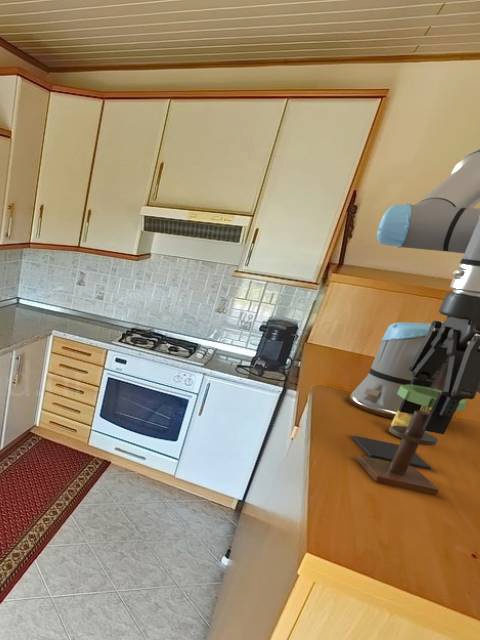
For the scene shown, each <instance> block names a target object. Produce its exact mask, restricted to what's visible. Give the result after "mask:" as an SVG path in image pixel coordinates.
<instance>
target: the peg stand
mask: <svg viewBox="0 0 480 640" xmlns="http://www.w3.org/2000/svg"><path fill="white" fill-rule="evenodd" d="M429 414H430V413H428V412H425V411H420V410H415V412H414V414H413V416H412V418H411V420H410V423H409V425H408V427H405V426H392V427H391V426H390V427H391V430H390V432H391V433H390V432H389V433H390V434H392V435H393V434H394V435H393V436H395V437H397V438H399V437H400V439H401V440H400V441H399V444H398V445H399V447H398V449H397V451H396V453H395V455H394V458H393V460H392V461H387V460H383V459H378V458H373V457H370V456H366V455H361V454H358V456H357V459H356V461H357V462H358V463H359V465H360V466H361V467H362V468H363V469H364V470H365V472H367V474H368V475H369V476H370V477H371V478H372V480H373V481H374V482H375V483H379V484H383V485H388V486H393V487H398V488H401V489H406V490H410V491H415V492H418V493H423V494H428V495H434V496H437V494H438V492H439V491H440V489H439V488H437V486H436V485H434V483H432V481H430V480H429V479H428V478H427V477H426V476H425V475H424V474H423V473H421V472H420V470H418V469H417V467H415V466H411V465H409V464H410V462H411V460H412V458H413V456H414V454H416V452H417V450H418V448H419V445H423V446H436V445H437V443H438V440H439V439H438V438H437V437H436V436H434V435H433V434H431V433H429V432H427V433H426V432H425V431H424V430H423V426H424V424H425V422H426V420H427V418H428V416H429Z"/></svg>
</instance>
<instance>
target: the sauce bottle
mask: <svg viewBox="0 0 480 640" xmlns="http://www.w3.org/2000/svg"><path fill="white" fill-rule="evenodd" d="M449 359H450V357H448V358H447V359H446V360H445V362H444V363H443V364H442V365H441V366H440V368H439V369H438V370H437V371H436V372H435V374H434V377H435V380H428V379H427V381H431V382H433V383H432V385H431V387H430V388H432V389H438V390H441V391H444V387H445V381H446V376H447V370H448V364H449ZM431 409H432V408H431V407H425V406H421V409H420V411H425V412H428V413H430V411H431ZM398 410H399V409H398ZM412 416H413V414H409V413H403V412H400V411H397V413H396V415H395V417H394V419H392V420H391V421H392V422H391V423H390V427H389V428H388V432H389V433H390V434H392V433H391V432H390V430H391V427H392V426H405V427H408V425H409V423H410V420H411V418H412ZM425 432H426V433H429V432H428V431H425ZM392 435H393V436H395V435H394V434H392ZM398 438H400V437H398ZM400 439H401V438H400Z"/></svg>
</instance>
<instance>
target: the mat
mask: <svg viewBox="0 0 480 640" xmlns="http://www.w3.org/2000/svg"><path fill="white" fill-rule="evenodd" d="M352 439H353V440H354V441H355V442H356V443H357V444H358V445H359V447H360V448H362V450H364V452H366V454H367V455H368V457H371V458H376V459H380V460H385V461H390V462H392V460H393V458H394V455H395V453H396V451H397V449H398V447H399V444H397V443H392V442H387V441H383V440H382V441H381V440H376V439H372V438H368V437H364V436H363V437H362V436H357V435H352ZM409 466H413V467H415V468H421V469H425V470H430V471H431V470H432V466H430V465H429V464H428V463H427V462H426V461H425V460H423V458H422V457H420V456H419V455H418V454H417V453H415V454H414V456H413V458H412V460H411V462H410V464H409Z"/></svg>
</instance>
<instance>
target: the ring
mask: <svg viewBox="0 0 480 640" xmlns="http://www.w3.org/2000/svg"><path fill="white" fill-rule="evenodd" d="M438 392H442V391H441V390H438V389H432V388H429V387H423V386H418V385H410V384H408V385H401V386H400V388H399V390H398V393H397V394H398V395H399V396H400V397H402V398H403V399H405V400H407V401H410V402H413V403H416V404H419V405H422V406H425V407H431V408H432V407H433V405H434V403H435V401H436V399H437V397H438ZM443 392H444V391H443ZM467 404H468V401H467V399H462V400H461V401H460V402H459V404H458V407H457V409H456V411H455V413H458V412H463V411H464V410H465V409H466V406H467Z"/></svg>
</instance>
